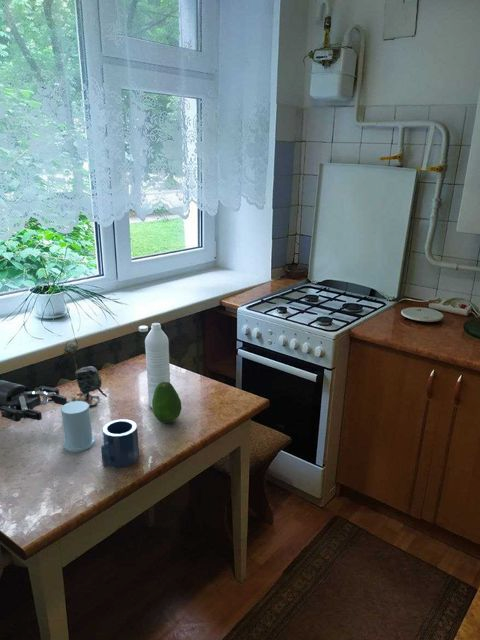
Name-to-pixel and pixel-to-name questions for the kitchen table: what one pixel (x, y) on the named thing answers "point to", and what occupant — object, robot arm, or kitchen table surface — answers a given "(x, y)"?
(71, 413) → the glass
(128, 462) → the navy pipe fitting
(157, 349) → the water bottle
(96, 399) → the plant with pod
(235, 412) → the kitchen table surface
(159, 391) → the avocado
